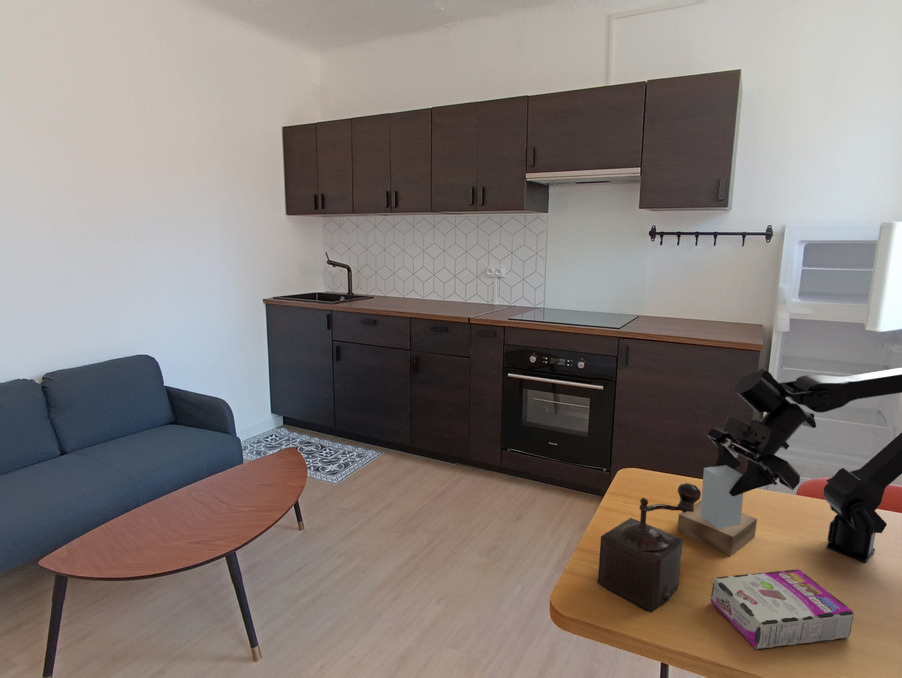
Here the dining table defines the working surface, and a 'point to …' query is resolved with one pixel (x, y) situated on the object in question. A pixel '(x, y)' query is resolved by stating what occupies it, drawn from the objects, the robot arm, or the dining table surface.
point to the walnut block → (716, 531)
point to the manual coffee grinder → (644, 556)
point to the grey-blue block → (721, 497)
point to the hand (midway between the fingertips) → (721, 488)
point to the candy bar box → (781, 608)
